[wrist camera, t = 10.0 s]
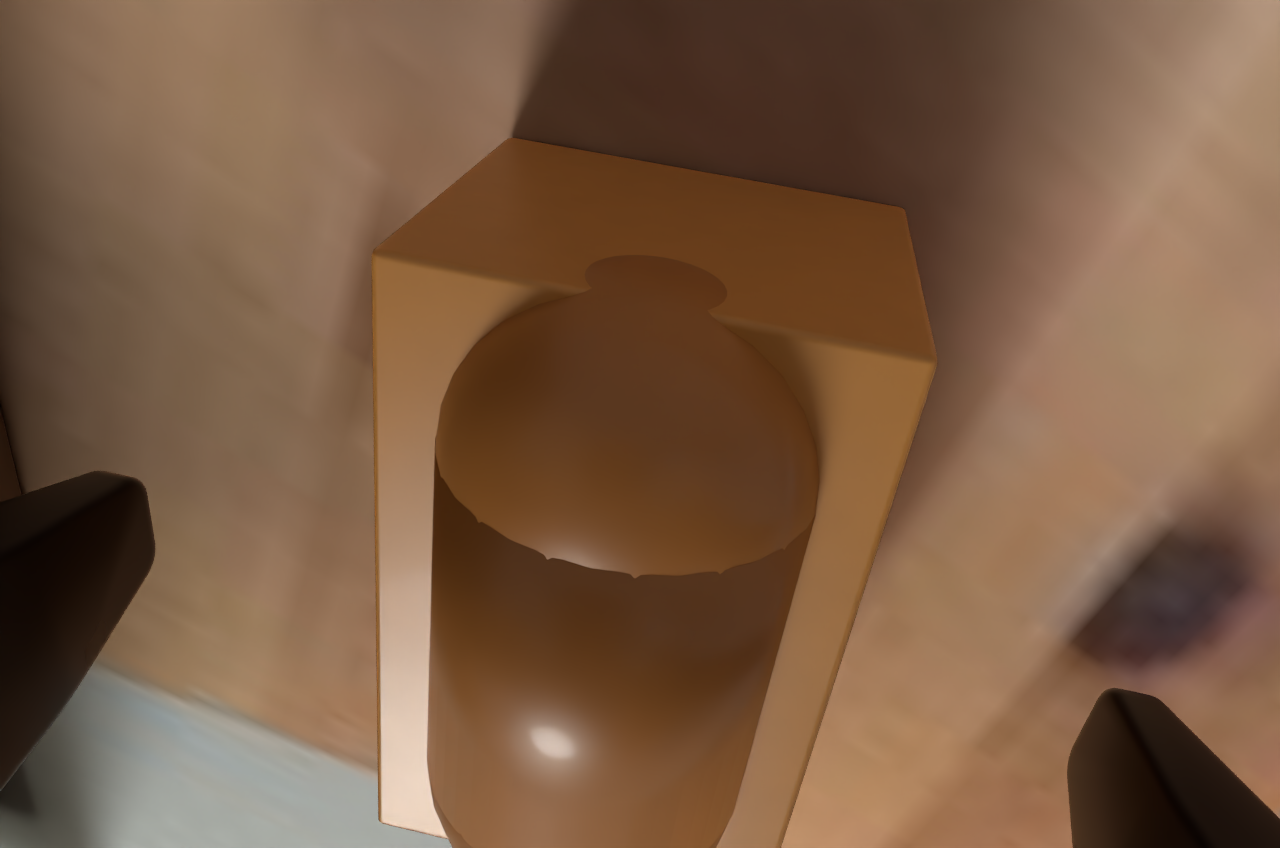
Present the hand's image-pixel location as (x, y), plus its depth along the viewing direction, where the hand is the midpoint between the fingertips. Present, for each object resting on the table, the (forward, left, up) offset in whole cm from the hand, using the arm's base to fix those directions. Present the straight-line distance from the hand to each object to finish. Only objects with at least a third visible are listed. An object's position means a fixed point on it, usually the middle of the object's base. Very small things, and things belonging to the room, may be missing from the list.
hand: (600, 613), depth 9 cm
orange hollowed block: (0, 0, -3) cm, 3 cm away
